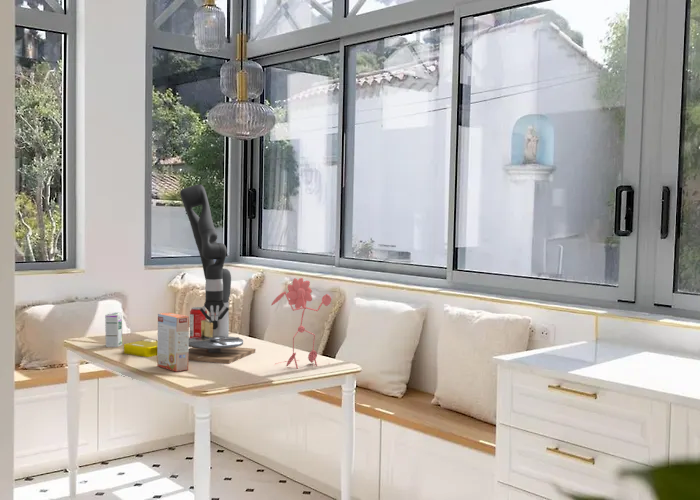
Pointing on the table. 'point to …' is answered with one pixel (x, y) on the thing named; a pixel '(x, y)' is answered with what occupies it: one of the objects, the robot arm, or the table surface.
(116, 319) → the syrup box
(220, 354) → the winch base
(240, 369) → the table surface
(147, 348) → the element tile
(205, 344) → the handwheel
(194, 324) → the soda can
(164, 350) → the cracker box
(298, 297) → the figurine
